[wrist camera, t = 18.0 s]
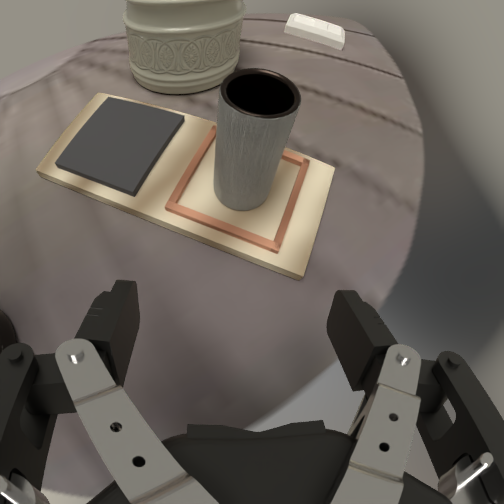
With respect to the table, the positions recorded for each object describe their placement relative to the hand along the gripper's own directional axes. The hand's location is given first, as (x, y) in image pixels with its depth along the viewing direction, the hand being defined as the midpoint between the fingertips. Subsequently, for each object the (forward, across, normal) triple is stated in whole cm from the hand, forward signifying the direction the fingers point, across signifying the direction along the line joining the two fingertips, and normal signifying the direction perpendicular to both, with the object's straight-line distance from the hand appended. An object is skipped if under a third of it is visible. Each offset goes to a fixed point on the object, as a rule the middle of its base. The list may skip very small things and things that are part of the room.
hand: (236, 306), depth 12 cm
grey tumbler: (+15, -1, -1) cm, 15 cm away
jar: (+29, +6, -13) cm, 32 cm away
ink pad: (+18, +10, -4) cm, 21 cm away
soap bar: (+38, -12, -22) cm, 46 cm away
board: (+17, +4, -2) cm, 18 cm away
